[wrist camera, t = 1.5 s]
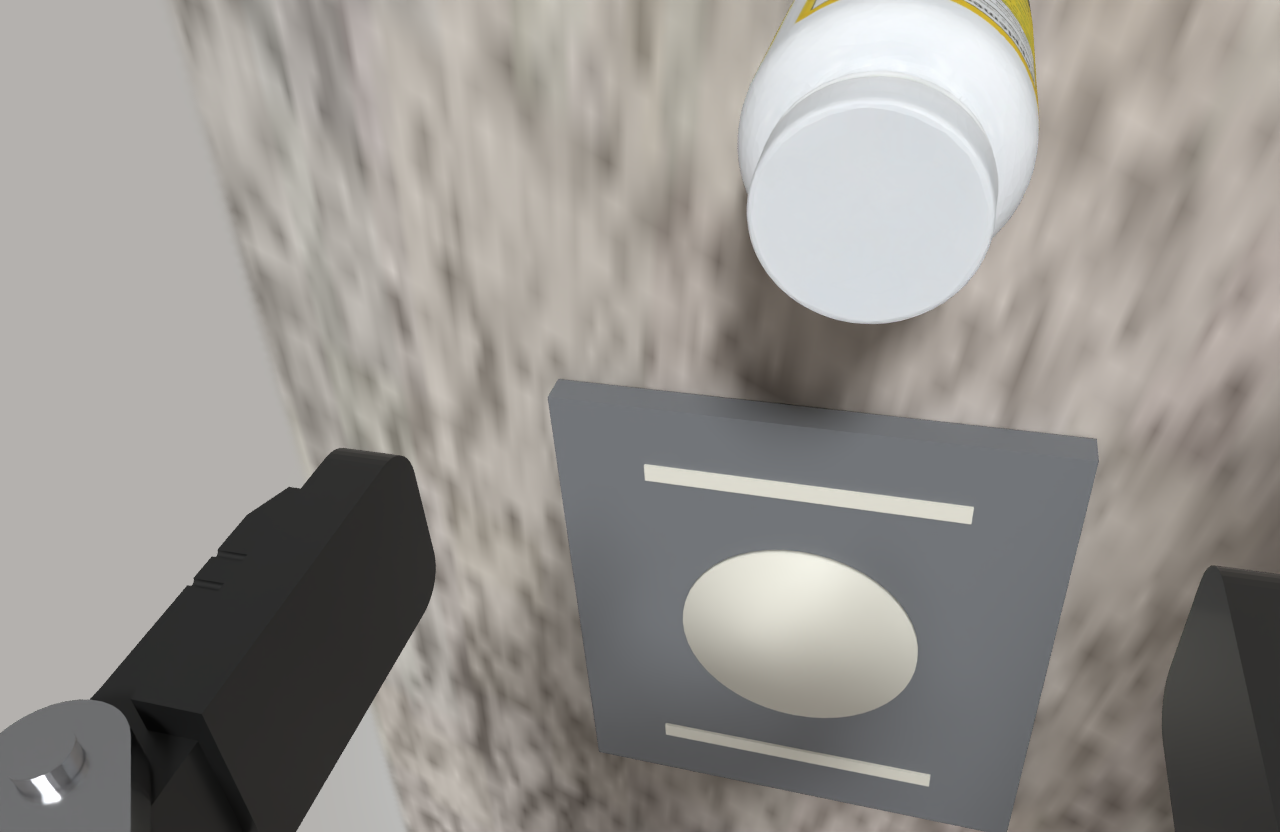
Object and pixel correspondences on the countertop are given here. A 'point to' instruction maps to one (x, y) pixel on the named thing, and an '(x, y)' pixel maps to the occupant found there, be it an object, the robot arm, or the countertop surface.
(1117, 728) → the countertop surface
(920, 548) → the slate board
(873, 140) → the supplement bottle
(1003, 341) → the countertop surface
